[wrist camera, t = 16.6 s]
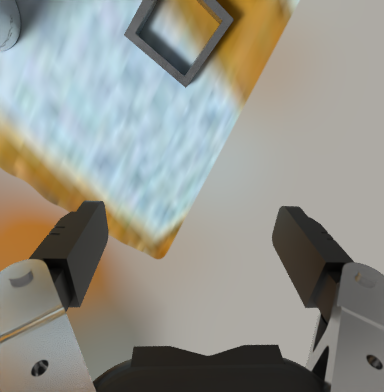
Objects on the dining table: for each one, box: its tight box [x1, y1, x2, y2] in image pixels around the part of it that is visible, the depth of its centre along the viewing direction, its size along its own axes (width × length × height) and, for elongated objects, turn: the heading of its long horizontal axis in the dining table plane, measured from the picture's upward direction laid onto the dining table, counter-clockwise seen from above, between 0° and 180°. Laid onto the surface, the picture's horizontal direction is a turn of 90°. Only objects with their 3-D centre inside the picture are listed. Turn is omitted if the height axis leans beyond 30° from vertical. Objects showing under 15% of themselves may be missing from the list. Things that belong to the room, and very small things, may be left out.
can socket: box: [124, 0, 234, 87], centre depth 31 cm, size 10×10×2 cm
